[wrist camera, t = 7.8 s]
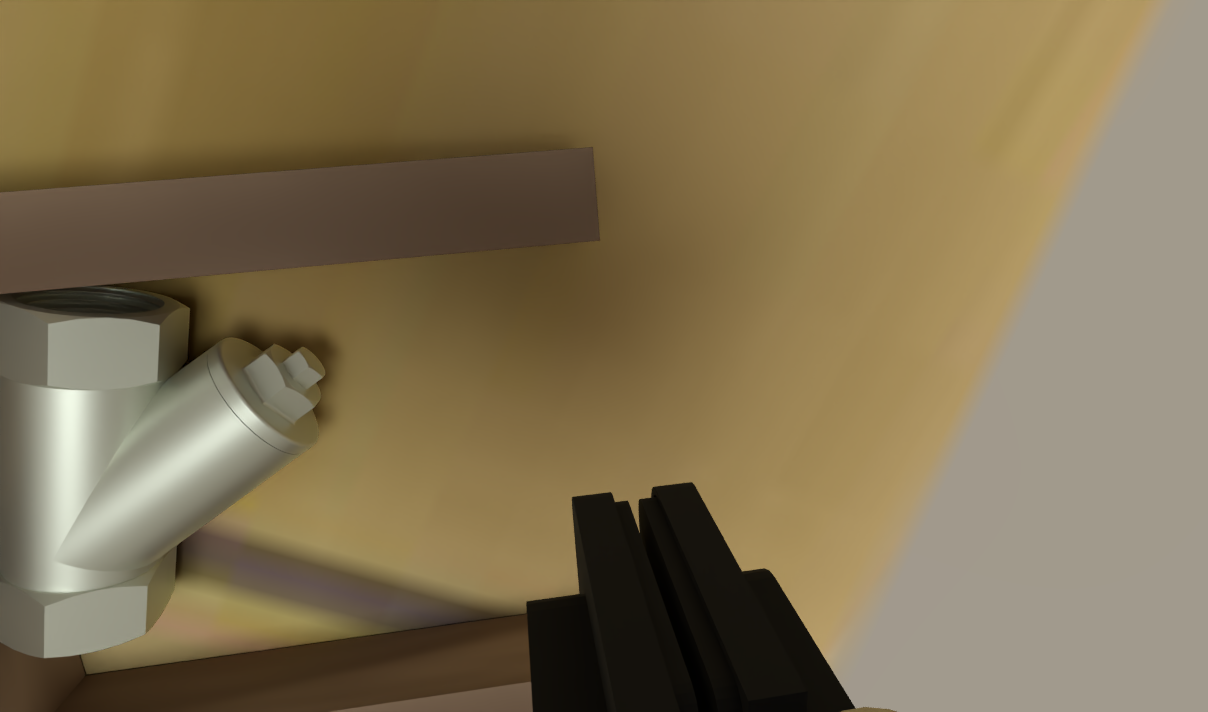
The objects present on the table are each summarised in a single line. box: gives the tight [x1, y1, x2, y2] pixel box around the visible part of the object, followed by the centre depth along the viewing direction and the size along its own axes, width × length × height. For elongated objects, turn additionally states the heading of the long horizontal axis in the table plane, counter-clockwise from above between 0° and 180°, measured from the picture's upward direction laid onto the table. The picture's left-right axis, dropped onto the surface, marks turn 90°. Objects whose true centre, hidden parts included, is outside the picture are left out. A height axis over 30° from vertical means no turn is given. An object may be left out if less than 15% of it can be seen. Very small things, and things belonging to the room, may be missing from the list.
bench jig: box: [0, 147, 600, 712], centre depth 16 cm, size 17×19×7 cm
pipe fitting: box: [0, 285, 325, 658], centre depth 18 cm, size 8×4×7 cm
